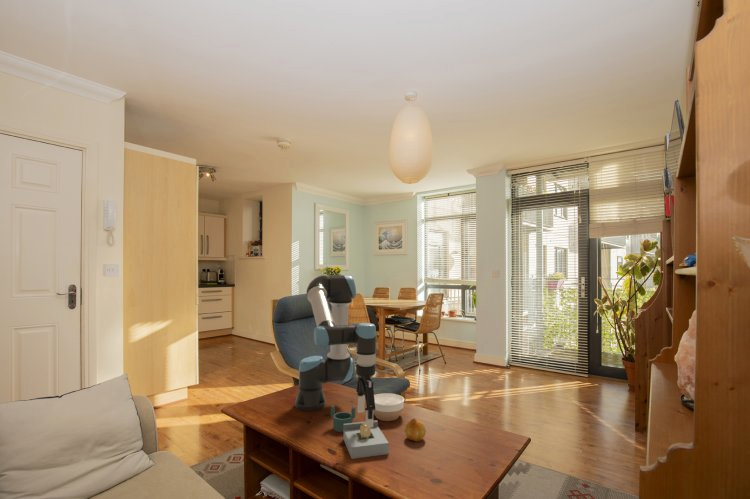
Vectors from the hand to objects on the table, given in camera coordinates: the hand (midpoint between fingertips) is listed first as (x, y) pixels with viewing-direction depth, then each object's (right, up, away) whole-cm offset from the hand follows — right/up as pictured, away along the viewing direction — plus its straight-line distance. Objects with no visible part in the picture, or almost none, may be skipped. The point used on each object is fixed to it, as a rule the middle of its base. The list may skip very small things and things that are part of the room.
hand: (365, 419), depth 145 cm
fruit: (+20, -11, +6) cm, 23 cm away
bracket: (-10, -11, +16) cm, 22 cm away
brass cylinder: (0, -10, -1) cm, 10 cm away
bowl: (+10, -12, +29) cm, 32 cm away
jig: (0, -10, -1) cm, 10 cm away
